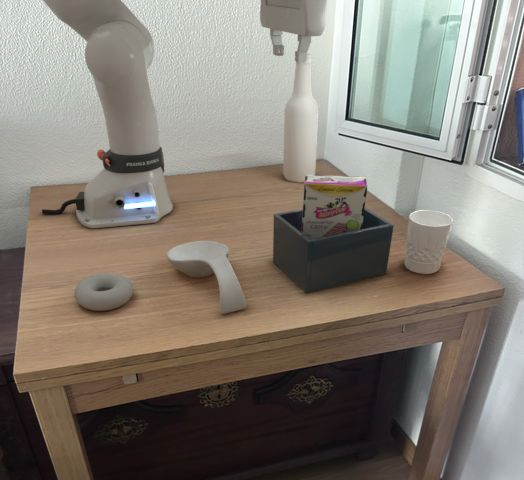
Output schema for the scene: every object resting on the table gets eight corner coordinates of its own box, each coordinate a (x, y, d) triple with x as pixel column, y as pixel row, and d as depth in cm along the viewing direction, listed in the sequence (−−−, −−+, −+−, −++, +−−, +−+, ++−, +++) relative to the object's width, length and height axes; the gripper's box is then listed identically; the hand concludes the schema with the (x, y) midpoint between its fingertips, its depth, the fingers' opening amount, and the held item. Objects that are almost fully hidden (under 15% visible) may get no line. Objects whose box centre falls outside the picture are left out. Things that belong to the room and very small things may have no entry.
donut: (137, 285, 100) (81, 286, 99) (134, 268, 98) (78, 269, 97) (131, 314, 92) (70, 315, 91) (128, 296, 90) (67, 297, 89)
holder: (305, 293, 98) (308, 242, 92) (272, 262, 108) (273, 214, 102) (386, 274, 104) (393, 224, 98) (348, 246, 114) (353, 200, 108)
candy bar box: (299, 268, 103) (303, 183, 94) (300, 256, 108) (303, 173, 98) (358, 270, 103) (368, 184, 93) (356, 258, 107) (366, 175, 97)
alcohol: (278, 174, 151) (280, 53, 134) (306, 171, 154) (312, 51, 136) (291, 184, 145) (295, 58, 127) (320, 180, 147) (328, 56, 130)
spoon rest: (160, 263, 107) (156, 229, 103) (215, 251, 111) (214, 218, 107) (203, 321, 90) (200, 283, 86) (266, 305, 94) (267, 268, 90)
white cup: (393, 261, 108) (400, 213, 102) (425, 254, 110) (434, 207, 105) (417, 279, 102) (426, 229, 96) (451, 271, 105) (462, 222, 99)
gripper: (251, -29, 104) (252, 52, 112) (302, -27, 89) (299, 67, 97) (281, -29, 106) (280, 51, 114) (335, -27, 91) (329, 65, 99)
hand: (289, 58), depth 106 cm, fingers open, 8 cm apart
